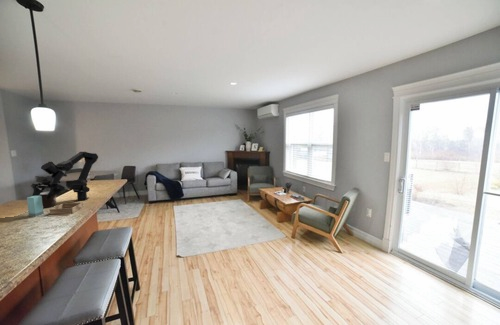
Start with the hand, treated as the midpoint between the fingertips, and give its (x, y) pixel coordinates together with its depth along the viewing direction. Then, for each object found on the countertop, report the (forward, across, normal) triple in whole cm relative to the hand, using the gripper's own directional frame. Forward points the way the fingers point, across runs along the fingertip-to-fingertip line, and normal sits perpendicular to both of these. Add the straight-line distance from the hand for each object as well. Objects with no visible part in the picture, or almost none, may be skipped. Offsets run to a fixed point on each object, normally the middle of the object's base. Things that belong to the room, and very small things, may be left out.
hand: (39, 198), depth 130 cm
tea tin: (+9, 0, +5) cm, 10 cm away
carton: (+3, +12, +11) cm, 17 cm away
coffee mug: (-3, -9, +17) cm, 20 cm away
